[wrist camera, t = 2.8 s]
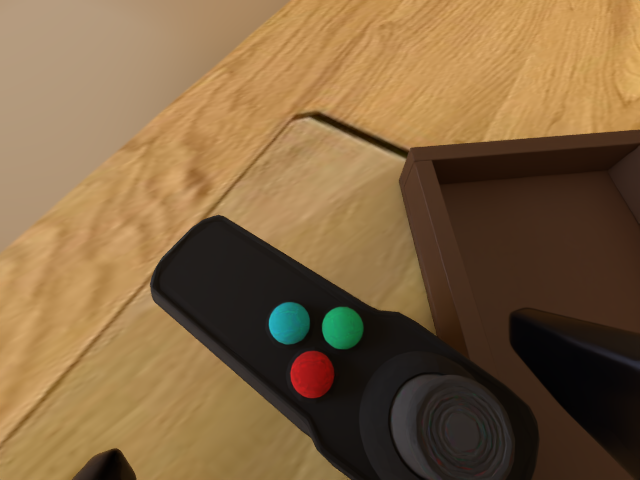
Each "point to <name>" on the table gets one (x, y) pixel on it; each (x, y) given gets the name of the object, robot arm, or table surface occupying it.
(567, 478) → the tray
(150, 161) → the table surface
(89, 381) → the table surface
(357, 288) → the table surface
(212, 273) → the controller
